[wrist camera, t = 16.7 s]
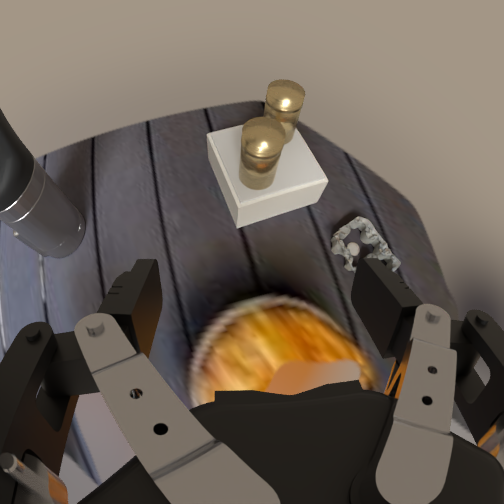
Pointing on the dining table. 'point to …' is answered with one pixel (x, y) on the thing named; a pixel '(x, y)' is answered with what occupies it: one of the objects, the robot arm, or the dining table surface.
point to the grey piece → (366, 237)
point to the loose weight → (260, 152)
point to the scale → (282, 189)
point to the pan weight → (284, 105)
